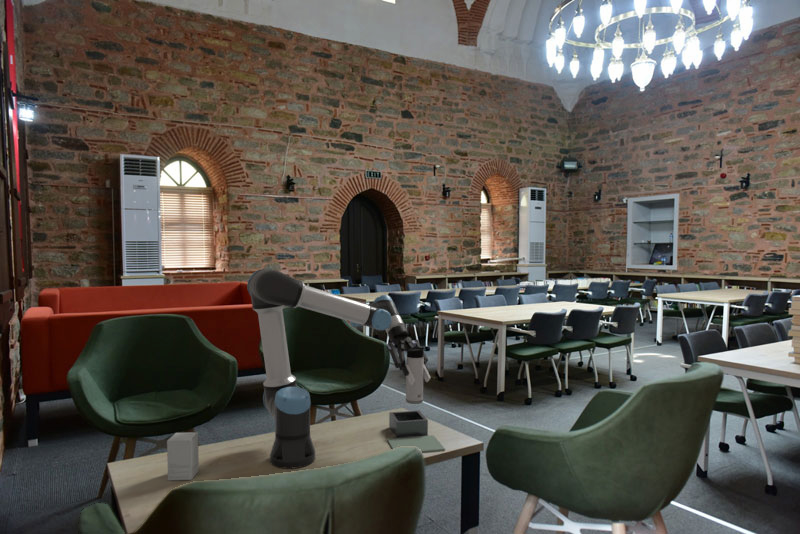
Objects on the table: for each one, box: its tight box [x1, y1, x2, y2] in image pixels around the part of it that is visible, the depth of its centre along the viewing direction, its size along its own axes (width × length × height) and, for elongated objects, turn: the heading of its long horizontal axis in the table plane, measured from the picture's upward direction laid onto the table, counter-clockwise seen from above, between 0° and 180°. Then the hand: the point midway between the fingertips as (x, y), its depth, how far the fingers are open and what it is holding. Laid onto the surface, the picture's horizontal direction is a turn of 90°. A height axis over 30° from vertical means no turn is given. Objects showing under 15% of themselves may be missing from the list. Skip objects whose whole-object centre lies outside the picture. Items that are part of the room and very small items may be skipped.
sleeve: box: [388, 410, 429, 438], centre depth 206 cm, size 12×12×6 cm
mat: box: [387, 434, 446, 453], centre depth 191 cm, size 18×14×1 cm
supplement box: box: [166, 431, 200, 481], centre depth 165 cm, size 7×7×13 cm
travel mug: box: [405, 346, 426, 405], centre depth 191 cm, size 6×7×20 cm
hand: (420, 381), depth 188 cm, fingers closed on travel mug, 6 cm apart
